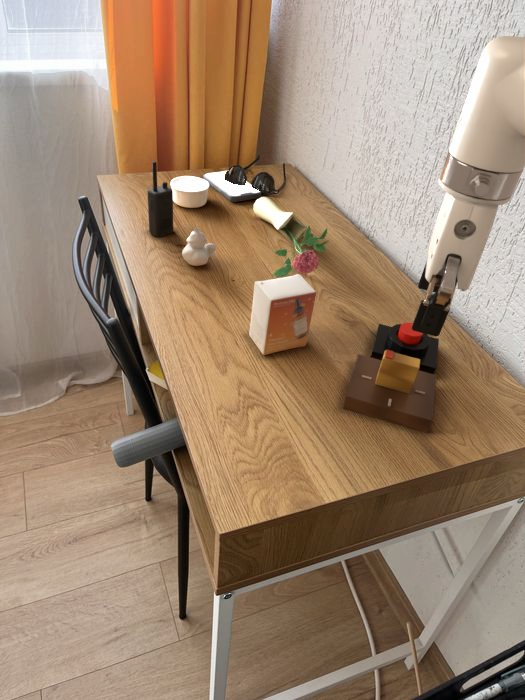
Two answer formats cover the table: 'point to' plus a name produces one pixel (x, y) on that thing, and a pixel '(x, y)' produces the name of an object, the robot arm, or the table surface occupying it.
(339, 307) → the table surface
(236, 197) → the phone case
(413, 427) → the plate
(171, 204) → the walkie-talkie
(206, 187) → the ramekin
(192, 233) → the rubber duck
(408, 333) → the button
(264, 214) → the toppled flower pot
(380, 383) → the yellow block
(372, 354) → the button box
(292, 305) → the small box
